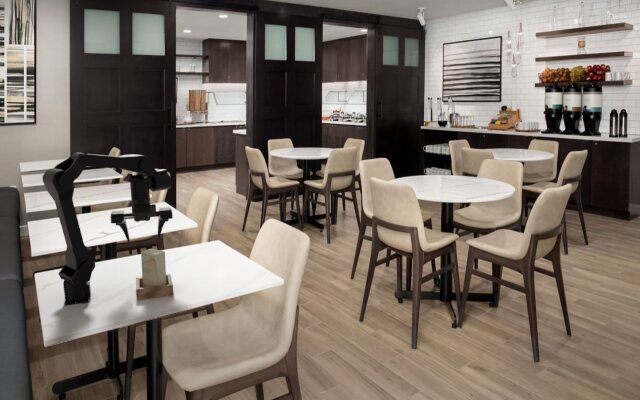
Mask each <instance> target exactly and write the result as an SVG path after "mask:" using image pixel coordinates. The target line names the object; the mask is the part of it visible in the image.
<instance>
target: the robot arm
mask: <svg viewBox="0 0 640 400" xmlns="http://www.w3.org/2000/svg"><path fill="white" fill-rule="evenodd" d="M87 167H88V168H89V167H90V168H91V167H93V168H106V169H120V170H123V171H126V172H129V173H127V174H126V176H124V178H123V179H122V180H123V181H124V182H128V183H129V185H130V186H129V189H130V199H131V212H125V211H124V210H114V211H113V210H112V212H111V213H110V224H115V225H116V226H117V227H118V226H119V227H120V229H121V230H122V232H123V234H124V235H125V236H124V237H125V238H126V241H127V243H130V235H129V229H128V225H127V220H133V221H134V222H136V223H137V222H138V223H139V222H143V221H144V222H149V221H150V220H151V218H155V217H157V220H158V222H157V240H160V238H161V235H162V230H163V227H164V225H165V224H166V222H169V220H171V219H173V216H174V215H173V210H172V208H171V207H170V206H169V207H167V206H166V207H165V206H164V207H159V208H158V210H157V205H156V203H155V204H153V203H152V204H151V195H150V194H151V193H150V192H153V193H154V192H160V191H165V190H169V189H171V188H172V186H173V180H172V177H171V175H170V174H169V173H168V169H165V168H161V169H158V170H156V168H155V167H154V166H153V165H152V164H151V160H150V159H149V157H148V156H146V155H142V154H137V153H136V154H134V153H133V154H132V153H131V154H130V153H129V154H123V155H117V156H116V155H105V154H94V153H92V154H91V153H84V152H80V151H79V152H74V153H73V154H71V155H70V156H68V158H67V159H64V160H63V161H61V162H59V163H57V164H56V165H55V166H54V167H53V168H49V169H47V170H46V171H45V172H44V174H42V179H41V180H42V183H43V185H44V187H45V189H46V192H48V194H49V196H50V197H51V198H52V200H53V201H54V204H55V207H56V211H57V215H58V219H59V222H60V226H61V229H62V233H63V237H64V239H65V240H64V241H65V245H66V250H65V254H64V257H65V258H64V259H65V264H64V265H63V266H62V268H61V269H60V270H59V272H58V276H59V278H60V279H61V280H63V282H62V285H63V293H64V294H63V295H64V302H63V303H64V306H65V305H67V306H68V305H74V304H80V303H81V304H82V303H88V302H90V301H89V300H90V298H91V296H92V290H91V282H90V281H91V278H92V274H93V271H95V268H96V262H97V261H98V260H97V259H96V258H95V257H96V256H95V250H94V249H93V248H91V247H89V246H87V245H85V243H84V238H83V235H82V231H81V227H80V223H79V219H78V215H77V212H76V209H75V205H74V200H73V197H74V192H75V181H76V180H77V179H78V178H79V177H80V176H81V174H82V173H83V171H84V170H85V169H86V168H87ZM130 172H131V173H130ZM132 173H135V175H133V174H132Z"/></svg>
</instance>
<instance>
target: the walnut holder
mask: <svg viewBox="0 0 640 400" xmlns="http://www.w3.org/2000/svg"><path fill="white" fill-rule="evenodd" d="M135 290H136V291H135V292H136V301H139V300H140V301H141V300H149V299H157V298H165V297H173V296H174V285H173V280H172V275H171V273H168V274H166V285H161V286H152V287H144V288H143V281H142V276H141V277H136V278H135Z"/></svg>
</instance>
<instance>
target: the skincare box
mask: <svg viewBox="0 0 640 400" xmlns="http://www.w3.org/2000/svg"><path fill="white" fill-rule="evenodd" d="M140 255H141V257H140V258H141V274H142V276H141V277H142V281H143V288H144V287H152V286H161V285H166V273H167V270H166V251H164V250H161V249H155V248H149V249H146V250H142V251H140Z"/></svg>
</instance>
